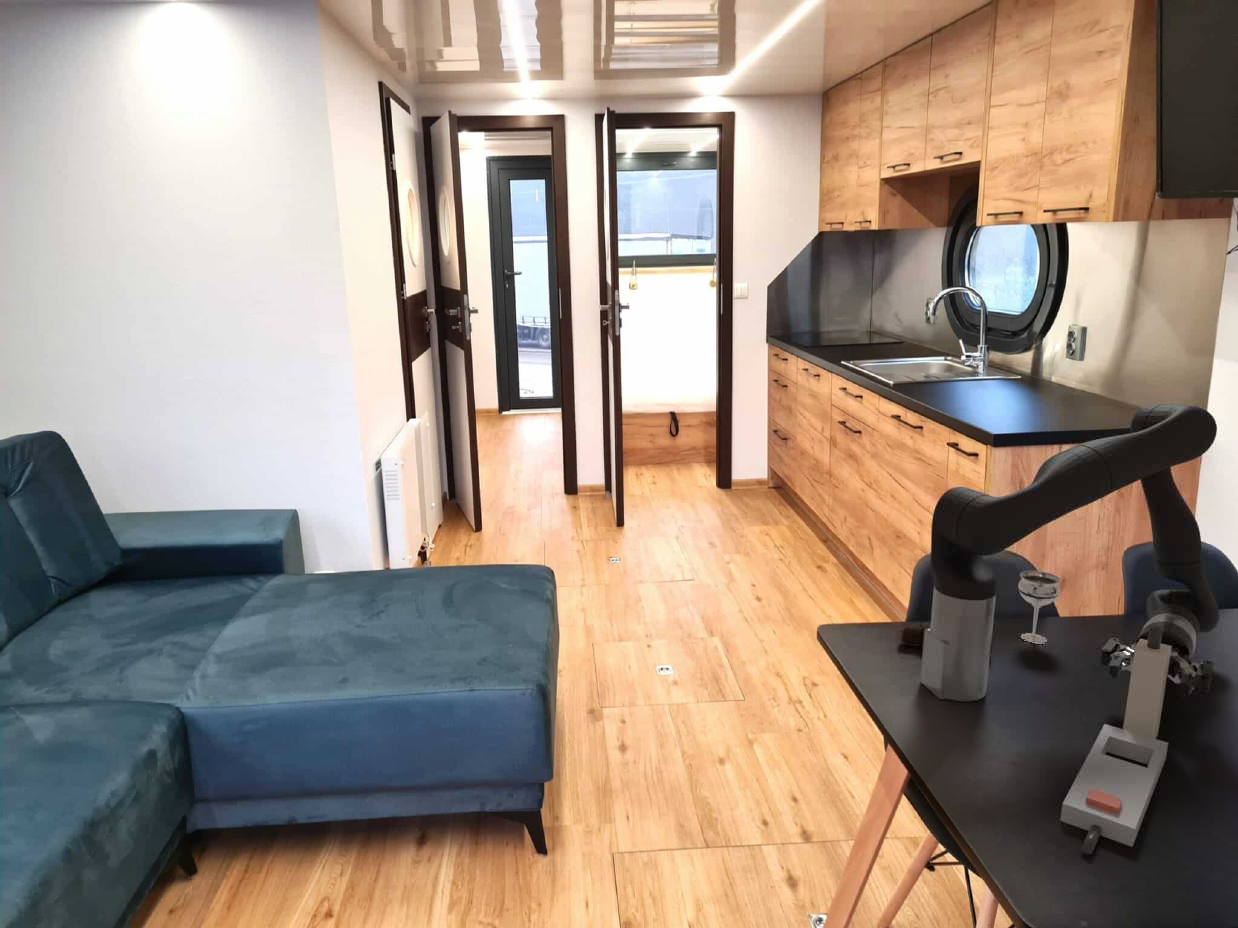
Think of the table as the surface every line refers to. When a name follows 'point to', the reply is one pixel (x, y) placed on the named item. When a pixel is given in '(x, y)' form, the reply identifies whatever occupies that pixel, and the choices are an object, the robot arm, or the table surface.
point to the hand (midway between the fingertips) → (1147, 681)
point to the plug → (1147, 684)
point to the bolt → (918, 635)
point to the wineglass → (1038, 596)
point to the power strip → (1114, 787)
